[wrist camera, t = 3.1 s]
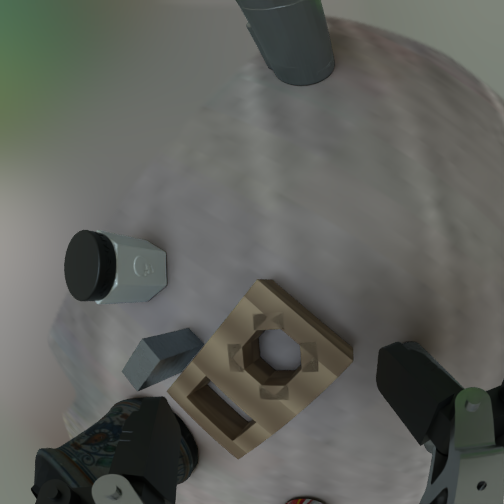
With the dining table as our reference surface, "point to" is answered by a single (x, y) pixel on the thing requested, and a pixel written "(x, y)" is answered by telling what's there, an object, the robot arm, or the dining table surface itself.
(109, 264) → the jar
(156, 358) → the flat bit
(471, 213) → the dining table surface
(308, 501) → the soda can
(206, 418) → the socket block
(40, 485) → the beer stein
